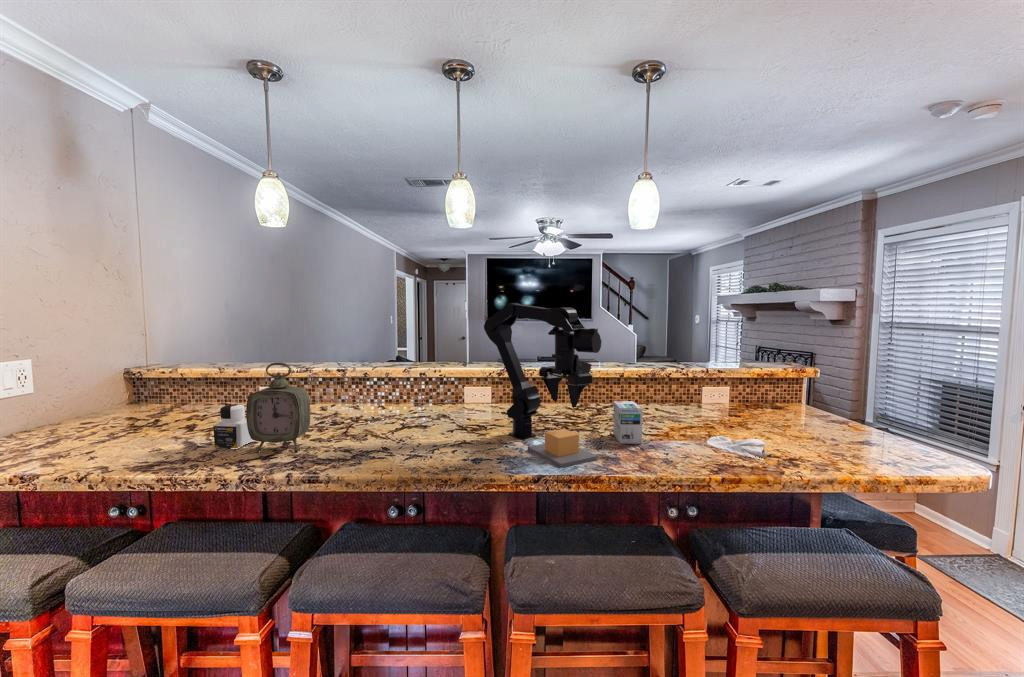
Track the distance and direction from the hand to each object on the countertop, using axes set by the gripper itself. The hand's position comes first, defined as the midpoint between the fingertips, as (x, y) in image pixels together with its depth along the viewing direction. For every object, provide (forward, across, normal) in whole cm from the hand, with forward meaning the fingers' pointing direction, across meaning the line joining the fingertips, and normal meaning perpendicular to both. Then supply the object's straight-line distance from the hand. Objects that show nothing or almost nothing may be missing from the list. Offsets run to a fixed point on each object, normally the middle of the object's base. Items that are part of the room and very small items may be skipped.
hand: (564, 404), depth 133 cm
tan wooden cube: (+11, -7, +6) cm, 14 cm away
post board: (+12, -7, +6) cm, 15 cm away
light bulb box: (+12, -5, -20) cm, 24 cm away
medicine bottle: (+12, +48, +84) cm, 98 cm away
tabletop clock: (+12, +37, +72) cm, 82 cm away
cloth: (+13, -29, -43) cm, 53 cm away
